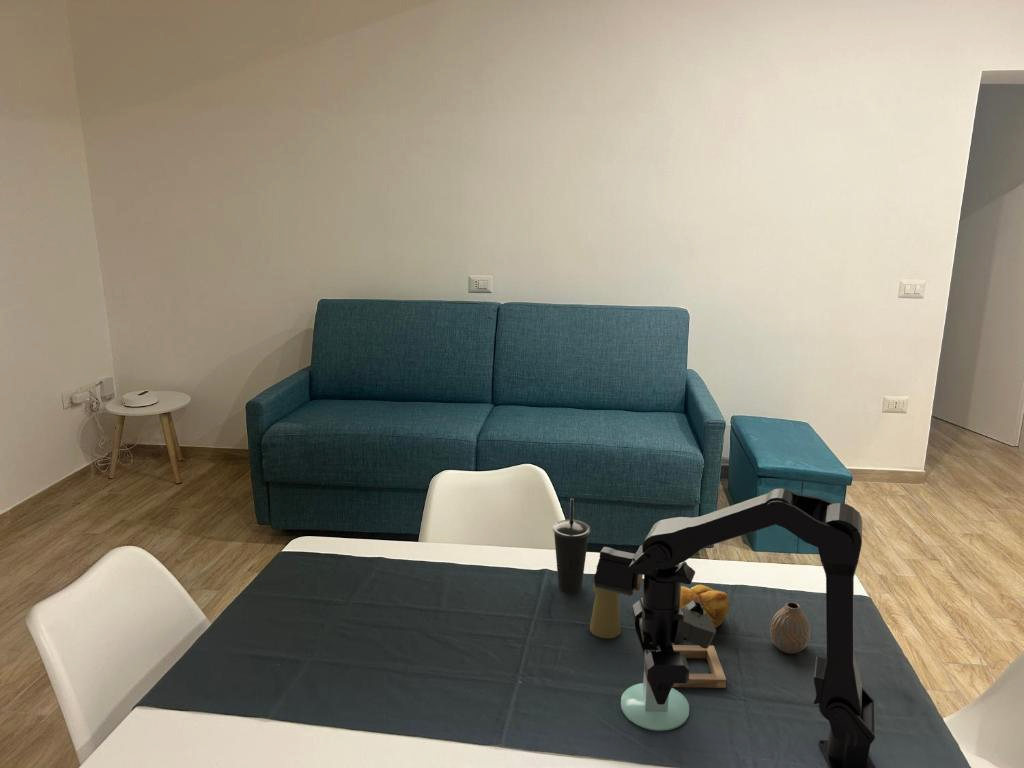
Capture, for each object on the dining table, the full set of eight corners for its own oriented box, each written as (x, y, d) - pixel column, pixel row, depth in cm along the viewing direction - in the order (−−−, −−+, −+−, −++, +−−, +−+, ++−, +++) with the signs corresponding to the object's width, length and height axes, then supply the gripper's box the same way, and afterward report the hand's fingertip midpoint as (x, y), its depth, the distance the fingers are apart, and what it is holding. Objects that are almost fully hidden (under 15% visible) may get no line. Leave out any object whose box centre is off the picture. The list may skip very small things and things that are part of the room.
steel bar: (667, 711, 128) (670, 663, 126) (645, 711, 128) (647, 663, 126) (664, 697, 132) (667, 650, 129) (642, 696, 132) (645, 649, 129)
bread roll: (660, 633, 150) (662, 595, 148) (656, 605, 160) (658, 569, 157) (729, 636, 149) (733, 599, 147) (721, 608, 158) (724, 572, 156)
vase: (810, 660, 142) (816, 617, 140) (770, 656, 143) (775, 613, 141) (805, 638, 149) (810, 597, 146) (766, 634, 150) (771, 593, 147)
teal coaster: (695, 731, 125) (695, 728, 125) (624, 730, 125) (625, 727, 125) (682, 685, 135) (682, 682, 135) (617, 685, 136) (617, 682, 135)
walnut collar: (725, 687, 135) (726, 679, 134) (668, 686, 135) (669, 678, 135) (713, 653, 144) (713, 645, 144) (659, 652, 144) (660, 645, 144)
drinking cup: (545, 582, 168) (546, 495, 162) (577, 574, 171) (579, 488, 165) (562, 600, 161) (564, 510, 155) (595, 592, 164) (598, 503, 158)
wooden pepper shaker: (584, 633, 150) (586, 581, 147) (596, 617, 155) (598, 566, 152) (614, 641, 147) (617, 589, 144) (626, 625, 153) (628, 574, 150)
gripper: (727, 635, 115) (719, 725, 120) (700, 570, 133) (694, 650, 138) (650, 634, 116) (645, 724, 120) (633, 569, 134) (630, 650, 138)
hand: (656, 684), depth 129 cm, fingers open, 9 cm apart
